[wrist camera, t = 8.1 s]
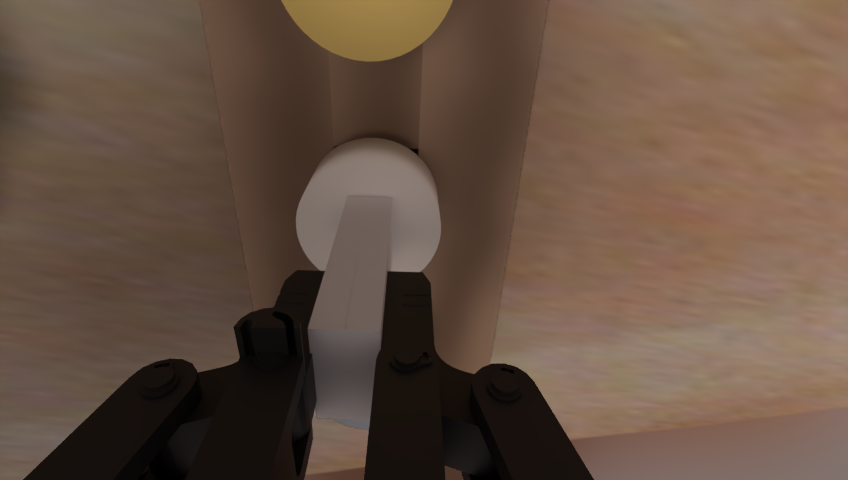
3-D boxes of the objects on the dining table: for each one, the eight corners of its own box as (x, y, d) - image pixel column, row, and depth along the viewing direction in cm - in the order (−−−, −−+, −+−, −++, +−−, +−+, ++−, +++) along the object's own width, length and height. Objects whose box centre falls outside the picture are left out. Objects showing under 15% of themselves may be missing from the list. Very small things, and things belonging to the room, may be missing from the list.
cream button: (325, 222, 21) (302, 287, 17) (317, 115, 19) (288, 158, 14) (431, 225, 22) (436, 290, 17) (438, 120, 19) (446, 164, 15)
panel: (282, 360, 28) (268, 399, 25) (198, -222, 15) (153, -263, 12) (477, 363, 28) (483, 402, 26) (557, -195, 16) (586, -231, 13)
